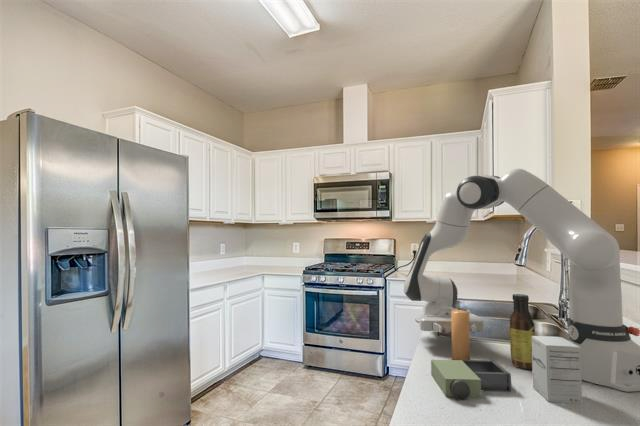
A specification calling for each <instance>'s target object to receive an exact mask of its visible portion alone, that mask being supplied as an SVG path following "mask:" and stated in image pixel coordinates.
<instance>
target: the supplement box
mask: <svg viewBox="0 0 640 426" xmlns="http://www.w3.org/2000/svg"><path fill="white" fill-rule="evenodd" d="M531 370H532V388H534V389H535V391H537V392H538V393H539V394H540V395H541V396H542V397H543V398H544V399H545V400H546V401H547V402H548V403H559V404H560V403H562V404H577V405H578V404H579V405H580V404H583V391H582V390H583V387H582V379H581V350H580V347H579V346H577V345H575V344H573V343H572V342H570V340H568V339H566V338H564V337H563V336H550V335H549V336H547V335H546V336H545V335H543V336H542V335H535V336H532V369H531Z"/></svg>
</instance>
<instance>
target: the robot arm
mask: <svg viewBox="0 0 640 426" xmlns="http://www.w3.org/2000/svg"><path fill="white" fill-rule="evenodd" d="M504 203H506V204H509V205H510V207H512V208H513V209H514V210H515V211H516V212H518V213H519V214H520V215H521V216H523V218H524V219H525V220H527V221H528V222H529V223H530V224H531V225H533V227H535V229H537V230H538V231H539V232H540V233H541V234H542V235H543V236H544V237H545V238H546V239H547V240H548V241H549V242H550V243H551V245H553V246H554V247H555V248H556V249H557V251H559V252H560V253H561V254H562V255H563V256H564V257H565V258H567V259H568V261H569V279H568V280H569V281H568V284H569V285H568V287H569V288H568V294H569V295H568V297H569V299H568V300H569V317H568V319H567V327H568V328H567V331H568V337H569V338H568V339H569V341H570V342H572V343H573V344H575V345H577V346H579V347H580V350H581V381H585V382H588V383H592V384H596V385H600V386H603V387H604V386H605V387H608V388H613V389H615V390H618V391H622V392H625V393H626V392H627V393H628V392H640V345H639V344H637V342H635V341H633V340H632V339H631V338H632V337H631V336H630V335H633V336H635V337H640V328H637V327H635V326H629V327H628V326H627V325H625V324H624V323H623V322H624V321H623V320H624V319H623V302H622V301H623V300H622V299H623V298H622V283H621V282H622V281H621V280H622V279H621V262H620V261H621V259H620V258H621V257H620V245H619V243H618V241H617V239H616V238H615V237H614V236H613V235H612V234H611V233H609V232H608V231H607V230H605V229H604V228H603V227H602V226H600V225H599V224H598V223H597V222H596V221H594V220H593V219H592V218H590V217H589V216H588V215H586V213H584V212H583V211H582V210H580V209H579V208H578V207H576V206H575V204H573V203H572V202H570V200H568V199H566V198H565V197H564V196H563V195H562V194H561V193H559V192H558V191H557V190H556V189H554V188H553V187H552V186H550V185H549V184H548V183H546V182H545V181H544V180H542V179H541V178H540V177H538V176H536V175H535V174H533V173H531V172H530V171H527V170H526V169H522V168H514V169H511V170H509V171H508V172H505V173H504V174H503V176H501V177H500V176H498V175H488V174H480V175H479V174H478V175H471V176H468V177H466V178H464V179H463V180H461V181H460V183H459V184H458V185H457V188H456V190H452V191H449V192H447V193H446V194H445V195H444V196H443V198H442V200H441V203H440V205H439V210H438V213H437V217H436V222H435V224H434V226H433V227H432V229H431V230H430V231H429V232H427V233H425V234H424V236H423V238H422V239H421V242H420V243H419V246H418V248H417V251H416V254H415V257H414V259H413V262H412V264H411V267H410V270H409V272H408V274H407V276H406V278H405V281H404V284H403V293H404V294H405V296H406V297H407V298H408V299H409V300H410V301H412V302H424V303H423V305H422V312H423V314H421V315H419V316H418V318H417V317H415V322H416V323H418V327H419V329H420V331H423V332H439V333H442V334H450V333H452V326H451V311H452V310H464V311H468V312H469V328H470V333H471V334H477V333H478V332H479V333H482V332H484V331H485V321H484V319H483V318H481V316H478V315H476V314H474V313H472V312H471V310H469V309H462V308H456V304H457V300H458V288H457V286H456V283H455V282H454V280H452V279H451V278H450V277H445V276H439V275H436V276H435V275H430V274H424V272H425V269H426V266H427V264H428V262H429V259H430V257H431V256H432V255H433V254H434V253H438V252H439V251H443V250H448V249H453V248H455V247H457V246H460V245H462V243H463V242H465V240H466V239H467V237H468V235H469V232H470V231H469V230H470V225H471V220H472V216H473V214H474V212H475V211H476V210H479V209H480V210H481V209H484V210H486V209H491V208H496V207H499V206H501V205H502V204H504ZM567 259H566V260H567Z"/></svg>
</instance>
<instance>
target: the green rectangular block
mask: <svg viewBox="0 0 640 426" xmlns="http://www.w3.org/2000/svg"><path fill="white" fill-rule="evenodd" d="M430 368H431V369H430V371H431V373H430V374H431V376H432V378H433V380H434V381H435V383H436V384H437V386H438V387H439V389H440V390H441V392H442V393H443V395H444V397H446V398H449V397H450V398H451V397H452V398H455V399H456V400H457V401H464V400H467V399H468V398H478V399H479V398H480V399H481V398H482V391H481V379H480V378H479V377H478V376H477V375H476V374H475V373H474V372H473V371H472V370H471V369H470V368H469V367H468V366H467V365H466V364H465V363H464V362H463V361H462V360H453V359H431V360H430Z"/></svg>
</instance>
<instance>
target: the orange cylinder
mask: <svg viewBox="0 0 640 426" xmlns="http://www.w3.org/2000/svg"><path fill="white" fill-rule="evenodd" d="M451 326H452V332H451V360H471V343H470V342H471V337H470V335H471V334H470V333H471V332H470V328H469V312H468V311H464V310H452V311H451Z"/></svg>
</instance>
